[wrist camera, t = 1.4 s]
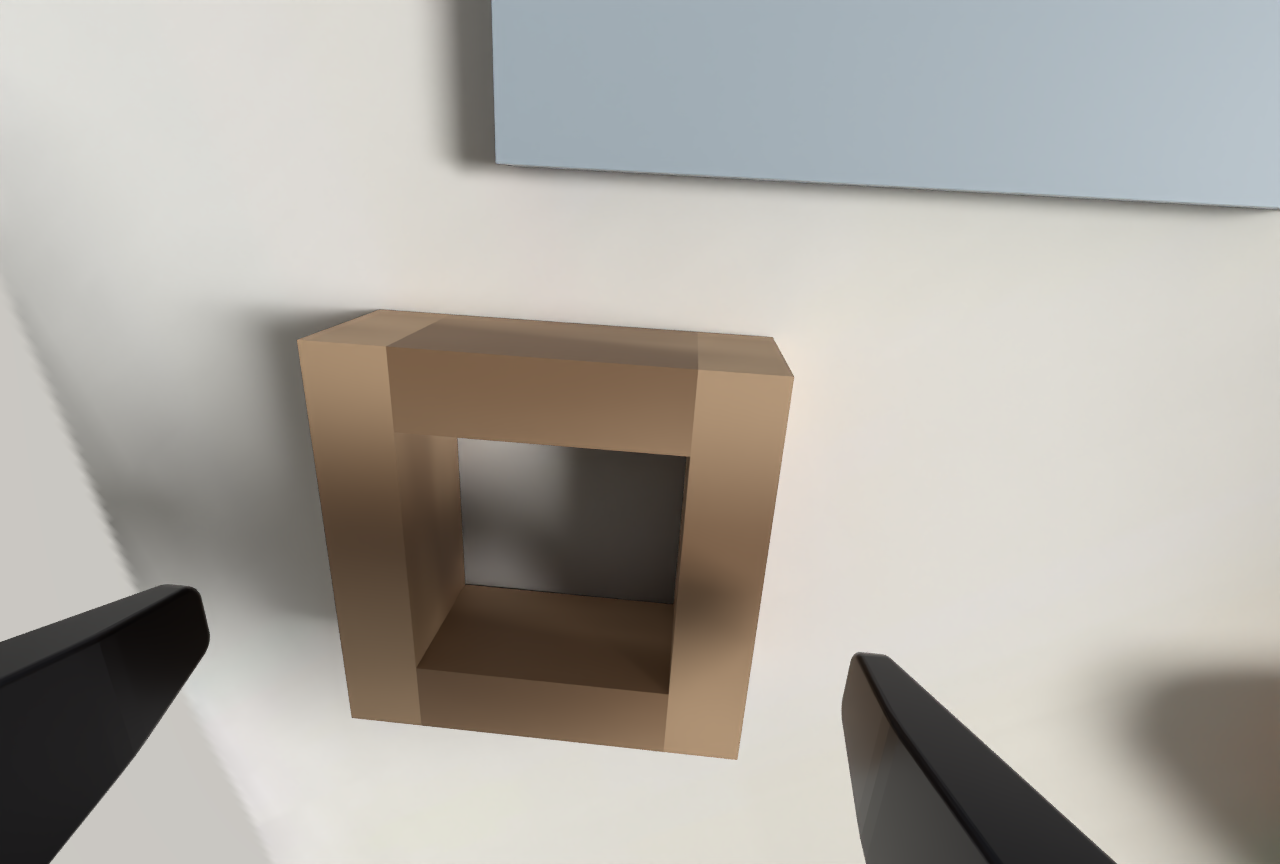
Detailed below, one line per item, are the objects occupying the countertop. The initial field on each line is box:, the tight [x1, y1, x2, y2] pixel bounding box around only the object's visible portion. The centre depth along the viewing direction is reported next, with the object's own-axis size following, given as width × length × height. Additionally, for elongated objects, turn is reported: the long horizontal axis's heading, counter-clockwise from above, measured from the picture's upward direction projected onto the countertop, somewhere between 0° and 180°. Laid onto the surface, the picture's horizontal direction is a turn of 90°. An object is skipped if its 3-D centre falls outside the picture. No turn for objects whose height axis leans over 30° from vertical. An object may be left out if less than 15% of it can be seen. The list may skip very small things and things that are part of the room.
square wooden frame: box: [297, 310, 794, 760], centre depth 11 cm, size 7×7×2 cm
